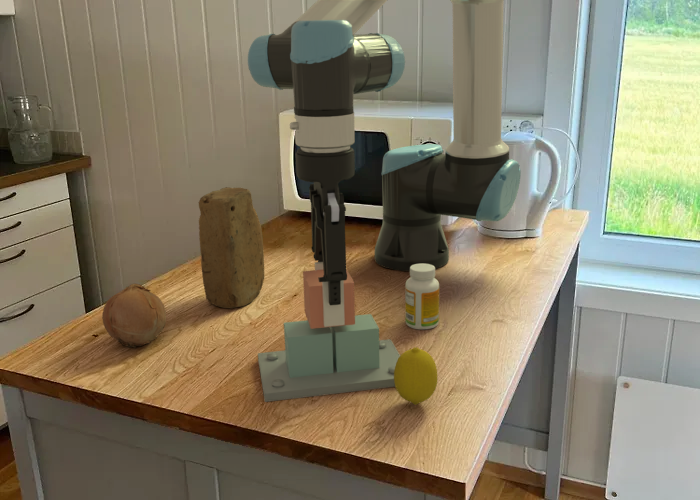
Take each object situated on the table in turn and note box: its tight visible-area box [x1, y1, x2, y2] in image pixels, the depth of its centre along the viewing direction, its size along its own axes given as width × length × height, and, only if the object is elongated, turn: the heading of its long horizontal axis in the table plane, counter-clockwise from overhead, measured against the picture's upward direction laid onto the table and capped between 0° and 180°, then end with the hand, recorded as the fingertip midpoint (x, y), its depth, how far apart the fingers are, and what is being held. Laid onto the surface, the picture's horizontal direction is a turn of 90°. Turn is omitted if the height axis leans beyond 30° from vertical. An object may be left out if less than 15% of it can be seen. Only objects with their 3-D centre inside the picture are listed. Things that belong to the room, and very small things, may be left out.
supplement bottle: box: [404, 263, 440, 330], centre depth 114 cm, size 5×5×10 cm
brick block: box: [302, 268, 356, 329], centre depth 97 cm, size 6×6×6 cm
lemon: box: [394, 346, 438, 406], centre depth 90 cm, size 6×6×8 cm
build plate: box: [257, 313, 401, 403], centre depth 99 cm, size 20×12×7 cm, turn 101°
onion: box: [101, 283, 167, 349], centre depth 110 cm, size 10×9×10 cm
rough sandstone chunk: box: [198, 186, 265, 309], centre depth 124 cm, size 11×8×20 cm
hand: (329, 314), depth 97 cm, fingers closed on brick block, 6 cm apart
